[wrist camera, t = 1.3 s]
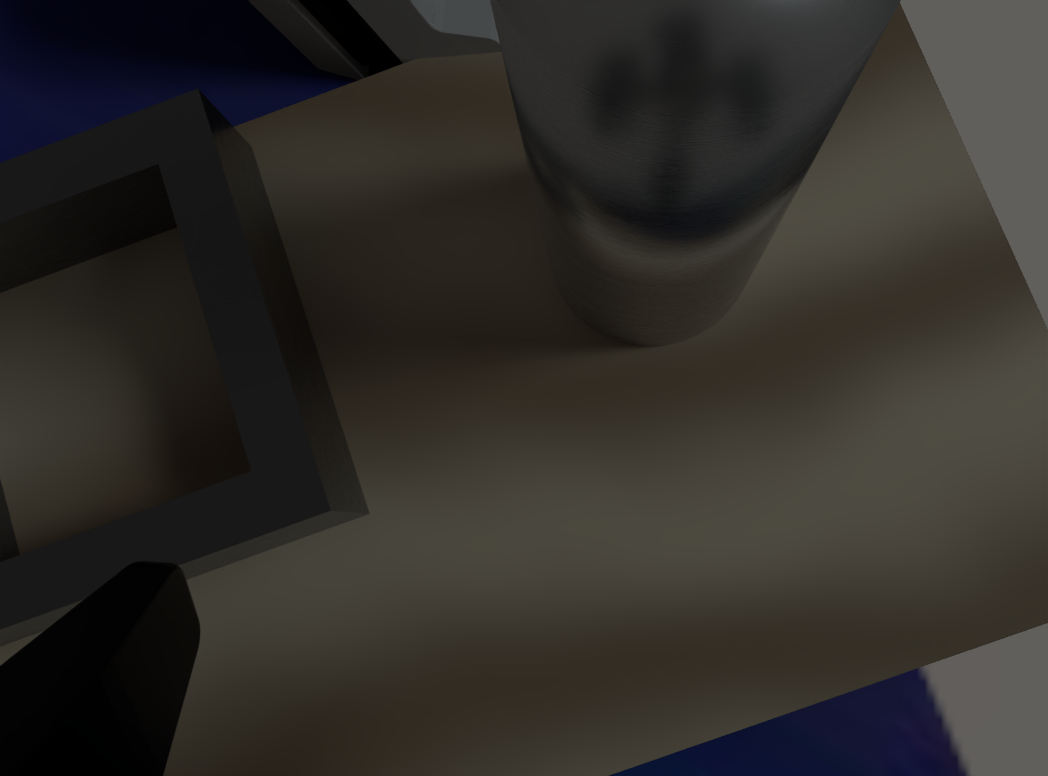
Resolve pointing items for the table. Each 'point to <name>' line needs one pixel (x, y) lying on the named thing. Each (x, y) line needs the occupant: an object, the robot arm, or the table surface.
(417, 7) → the grey arched block
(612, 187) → the pin
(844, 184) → the board
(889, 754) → the table surface
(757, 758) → the table surface
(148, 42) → the table surface
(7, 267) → the knuckle socket
